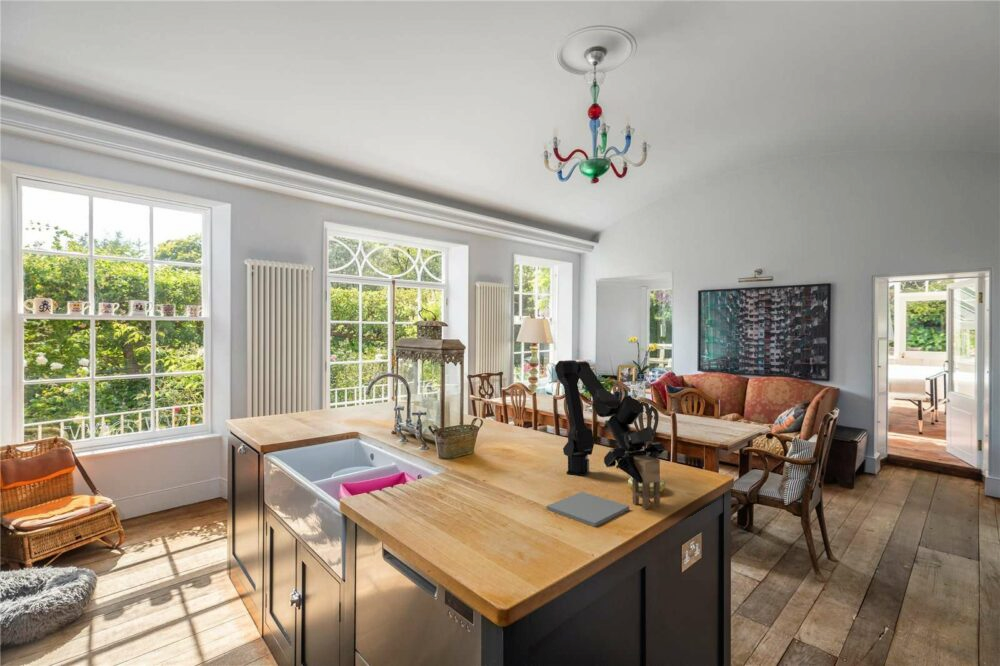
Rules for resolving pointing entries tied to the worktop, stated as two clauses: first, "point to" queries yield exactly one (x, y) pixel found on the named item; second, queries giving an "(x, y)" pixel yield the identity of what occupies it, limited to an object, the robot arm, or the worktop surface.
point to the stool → (647, 481)
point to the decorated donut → (650, 485)
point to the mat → (588, 508)
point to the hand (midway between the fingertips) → (649, 481)
